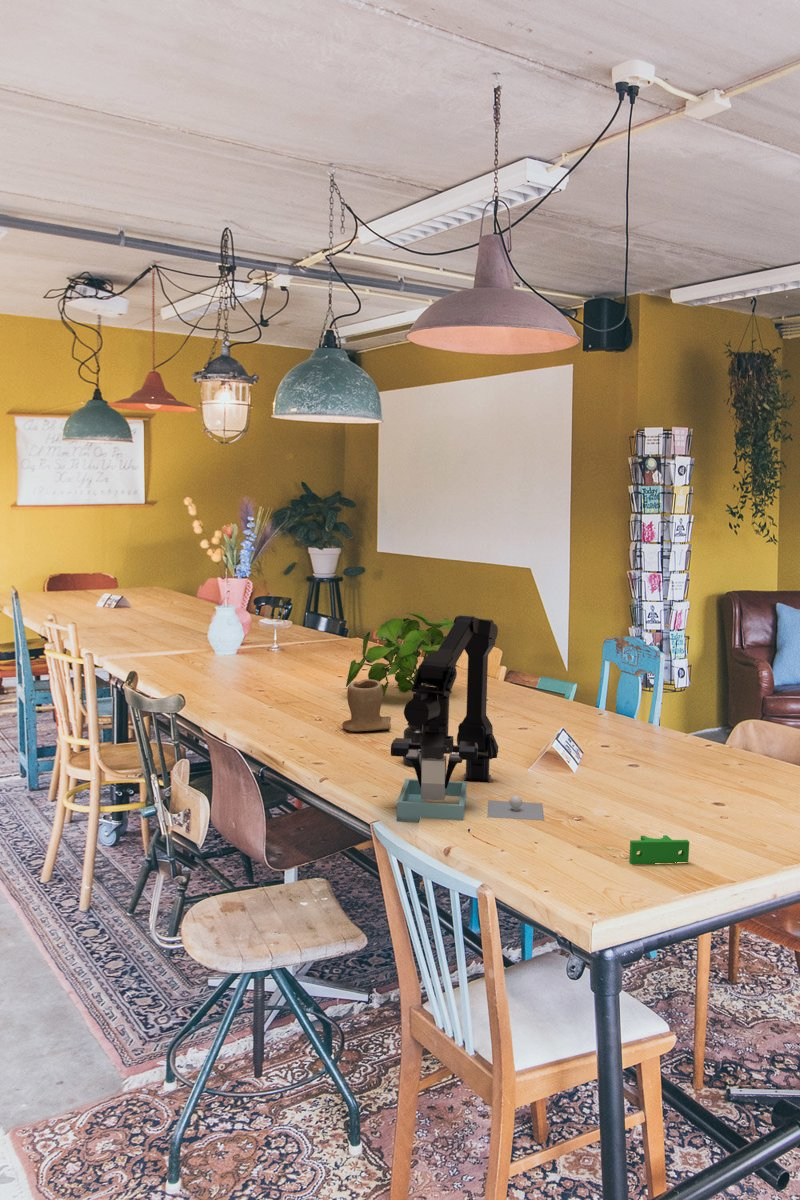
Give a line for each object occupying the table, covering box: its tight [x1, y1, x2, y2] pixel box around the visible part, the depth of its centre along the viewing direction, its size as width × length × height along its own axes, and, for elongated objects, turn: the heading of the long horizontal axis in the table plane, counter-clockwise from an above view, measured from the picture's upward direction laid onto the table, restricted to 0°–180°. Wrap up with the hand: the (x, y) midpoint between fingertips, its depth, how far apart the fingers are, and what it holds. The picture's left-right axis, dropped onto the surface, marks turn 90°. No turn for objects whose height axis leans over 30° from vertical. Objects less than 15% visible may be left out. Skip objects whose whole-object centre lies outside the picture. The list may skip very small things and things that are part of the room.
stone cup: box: [341, 678, 392, 732], centre depth 287 cm, size 15×12×15 cm
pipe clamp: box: [628, 834, 690, 865], centre depth 187 cm, size 11×4×5 cm, turn 96°
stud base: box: [486, 794, 545, 821], centre depth 213 cm, size 12×12×4 cm
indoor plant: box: [345, 612, 460, 697], centre depth 335 cm, size 44×42×30 cm
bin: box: [395, 778, 468, 823], centre depth 215 cm, size 18×14×4 cm
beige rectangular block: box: [421, 755, 447, 802], centre depth 214 cm, size 5×5×9 cm
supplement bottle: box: [402, 722, 423, 768], centre depth 252 cm, size 7×7×12 cm
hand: (433, 787), depth 214 cm, fingers closed on beige rectangular block, 5 cm apart
